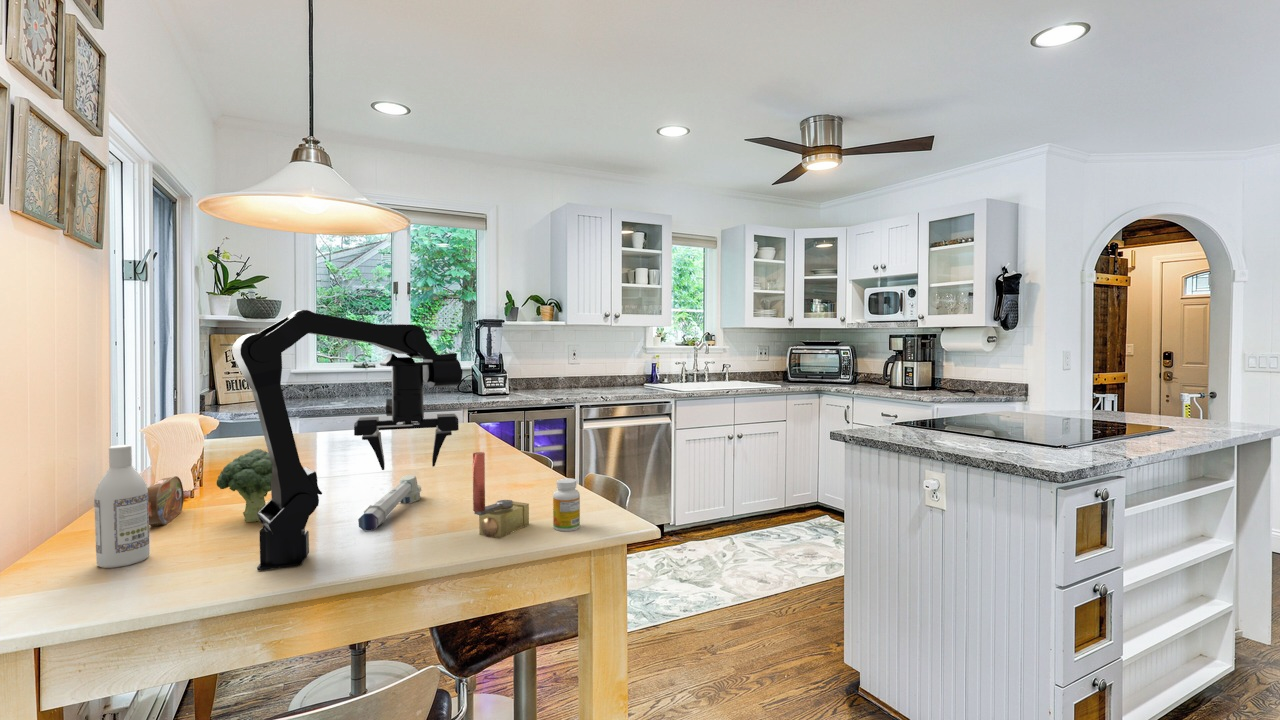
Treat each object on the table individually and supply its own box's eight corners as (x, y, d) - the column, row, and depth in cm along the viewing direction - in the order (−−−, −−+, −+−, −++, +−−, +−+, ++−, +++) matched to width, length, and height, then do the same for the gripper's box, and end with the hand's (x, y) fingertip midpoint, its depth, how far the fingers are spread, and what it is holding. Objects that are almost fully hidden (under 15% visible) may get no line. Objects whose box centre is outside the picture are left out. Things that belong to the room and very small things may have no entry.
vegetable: (286, 524, 123) (284, 452, 122) (211, 533, 117) (209, 457, 117) (292, 509, 134) (290, 443, 133) (223, 516, 128) (222, 447, 127)
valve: (499, 538, 114) (499, 516, 114) (477, 535, 116) (477, 512, 116) (530, 524, 123) (530, 503, 123) (509, 520, 125) (509, 500, 125)
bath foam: (159, 553, 106) (156, 442, 105) (130, 568, 99) (126, 449, 98) (117, 554, 105) (114, 442, 105) (85, 569, 99) (81, 450, 98)
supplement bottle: (554, 523, 123) (554, 477, 123) (580, 523, 124) (580, 477, 123) (552, 532, 118) (552, 483, 118) (579, 531, 118) (579, 483, 118)
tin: (160, 529, 119) (159, 488, 119) (140, 531, 118) (139, 489, 118) (185, 509, 133) (184, 472, 133) (168, 511, 132) (167, 473, 132)
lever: (505, 503, 122) (504, 446, 121) (516, 506, 120) (515, 447, 119) (469, 514, 114) (468, 453, 114) (480, 517, 112) (479, 455, 112)
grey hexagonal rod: (353, 512, 118) (401, 468, 143) (356, 543, 119) (403, 494, 144) (380, 512, 118) (423, 468, 143) (382, 543, 120) (425, 494, 144)
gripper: (455, 384, 127) (456, 456, 127) (359, 386, 120) (360, 463, 121) (458, 388, 116) (459, 467, 117) (353, 391, 110) (354, 475, 111)
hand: (408, 467), depth 117 cm, fingers open, 9 cm apart
